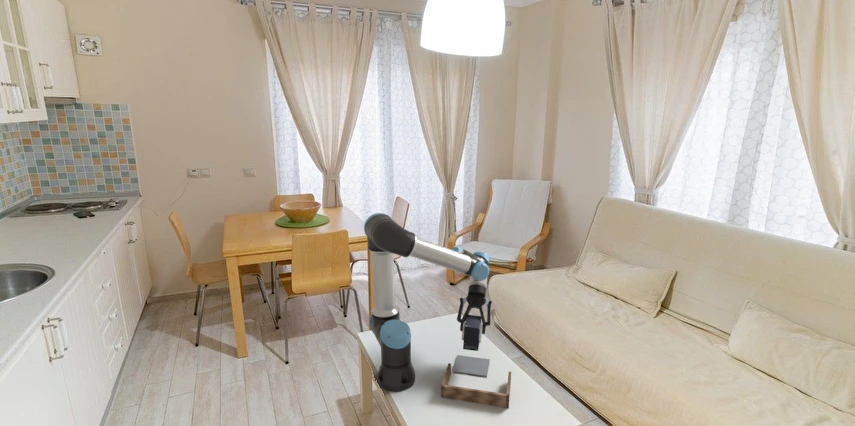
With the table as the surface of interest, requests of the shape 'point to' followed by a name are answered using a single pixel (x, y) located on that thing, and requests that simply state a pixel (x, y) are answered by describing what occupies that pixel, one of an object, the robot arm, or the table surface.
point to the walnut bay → (474, 393)
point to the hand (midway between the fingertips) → (471, 340)
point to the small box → (472, 332)
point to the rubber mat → (471, 366)
